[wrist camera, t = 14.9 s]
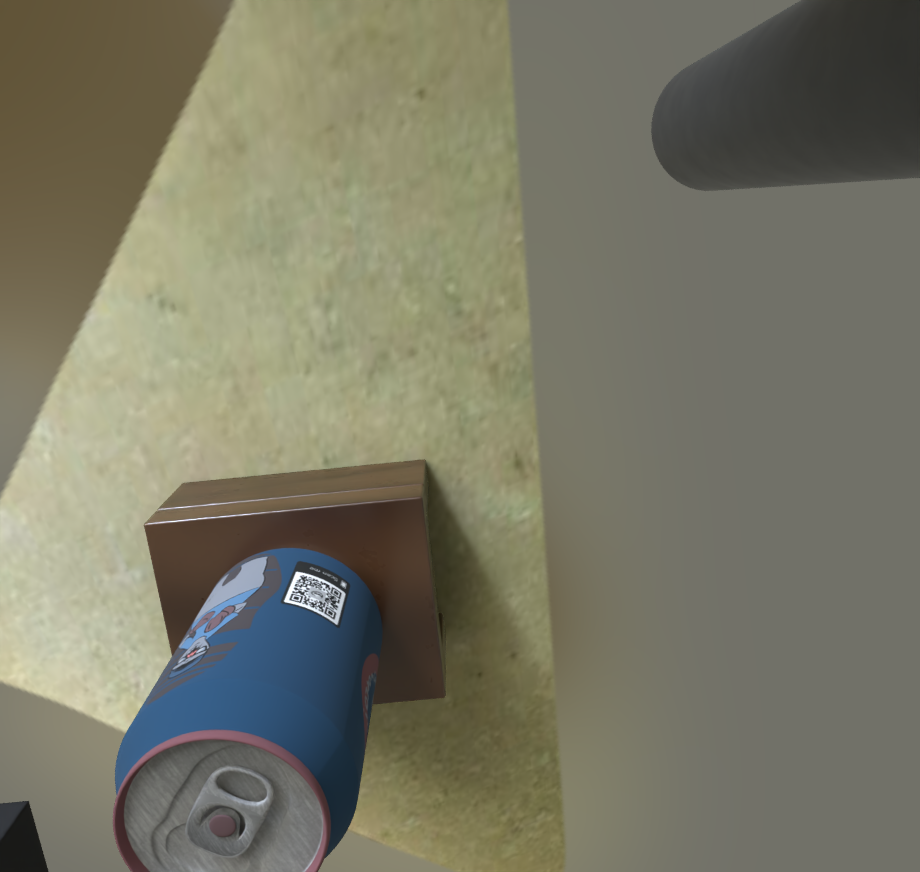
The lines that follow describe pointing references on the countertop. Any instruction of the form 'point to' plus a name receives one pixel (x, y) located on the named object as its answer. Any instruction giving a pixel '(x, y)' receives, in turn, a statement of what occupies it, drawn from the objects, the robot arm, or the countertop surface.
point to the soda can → (254, 724)
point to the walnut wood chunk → (322, 530)
